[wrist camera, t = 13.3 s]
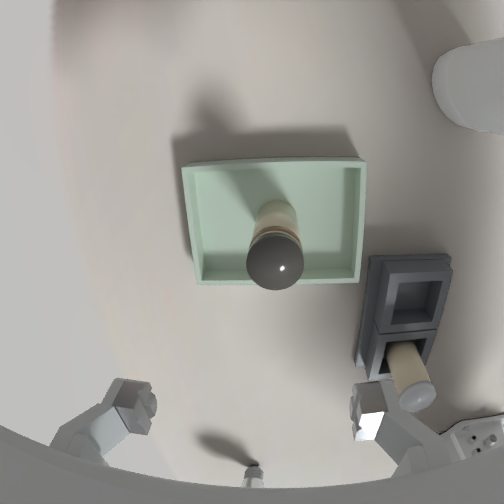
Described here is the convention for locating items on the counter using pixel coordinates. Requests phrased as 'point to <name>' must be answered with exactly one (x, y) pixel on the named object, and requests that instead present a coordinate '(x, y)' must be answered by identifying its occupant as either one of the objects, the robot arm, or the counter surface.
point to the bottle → (472, 86)
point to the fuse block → (401, 307)
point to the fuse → (409, 376)
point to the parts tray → (267, 189)
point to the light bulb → (253, 478)
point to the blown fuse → (275, 247)
